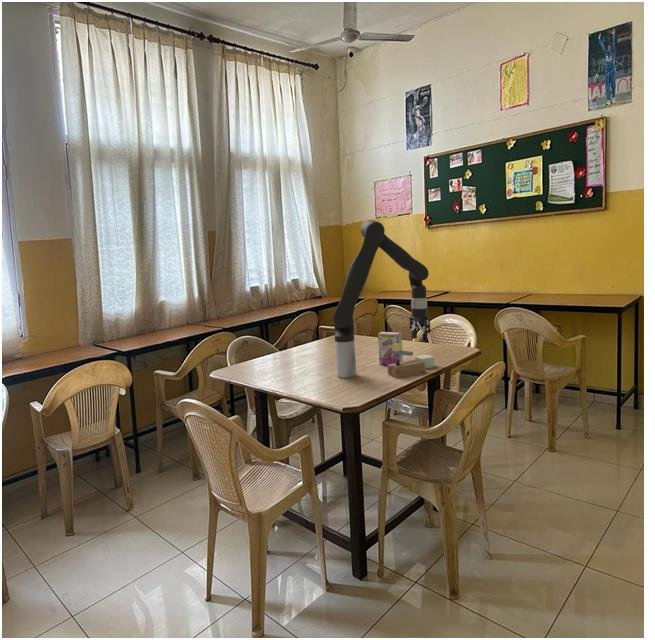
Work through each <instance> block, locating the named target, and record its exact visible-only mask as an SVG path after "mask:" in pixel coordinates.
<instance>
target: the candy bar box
mask: <svg viewBox="0 0 655 640" xmlns="http://www.w3.org/2000/svg"><path fill="white" fill-rule="evenodd" d="M377 339H378V356H379V365H381V366H382V365H383V366H388V364H393V363H396V358H395V354H391V353H390V351H391V350H392V344H394V343H398V344H401V348H402V349H403V342H402V341H403V336H402V332H391V331H380V332H378V333H377ZM403 356H404V355H399V360H400V362H404V359H403V358H404V357H403Z"/></svg>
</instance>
